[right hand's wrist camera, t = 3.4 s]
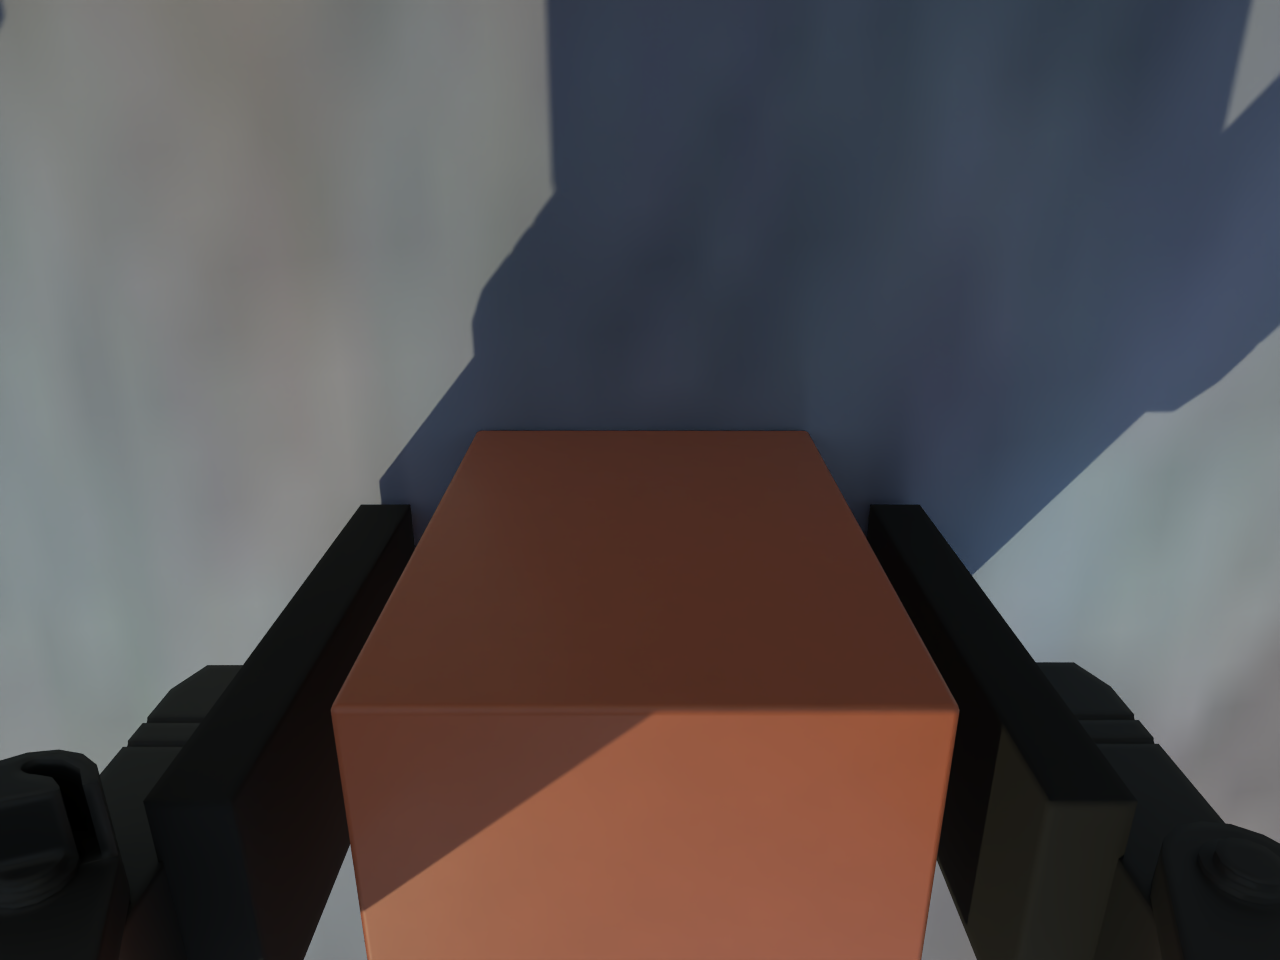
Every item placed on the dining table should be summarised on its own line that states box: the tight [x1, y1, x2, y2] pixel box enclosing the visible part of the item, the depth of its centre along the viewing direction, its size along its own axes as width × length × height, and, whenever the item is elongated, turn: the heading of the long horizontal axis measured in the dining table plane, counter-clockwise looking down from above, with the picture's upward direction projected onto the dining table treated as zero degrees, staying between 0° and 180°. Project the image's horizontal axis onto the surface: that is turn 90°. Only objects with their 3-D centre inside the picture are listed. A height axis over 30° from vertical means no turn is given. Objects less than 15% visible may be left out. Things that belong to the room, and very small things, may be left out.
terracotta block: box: [331, 431, 960, 960], centre depth 11 cm, size 5×5×7 cm
